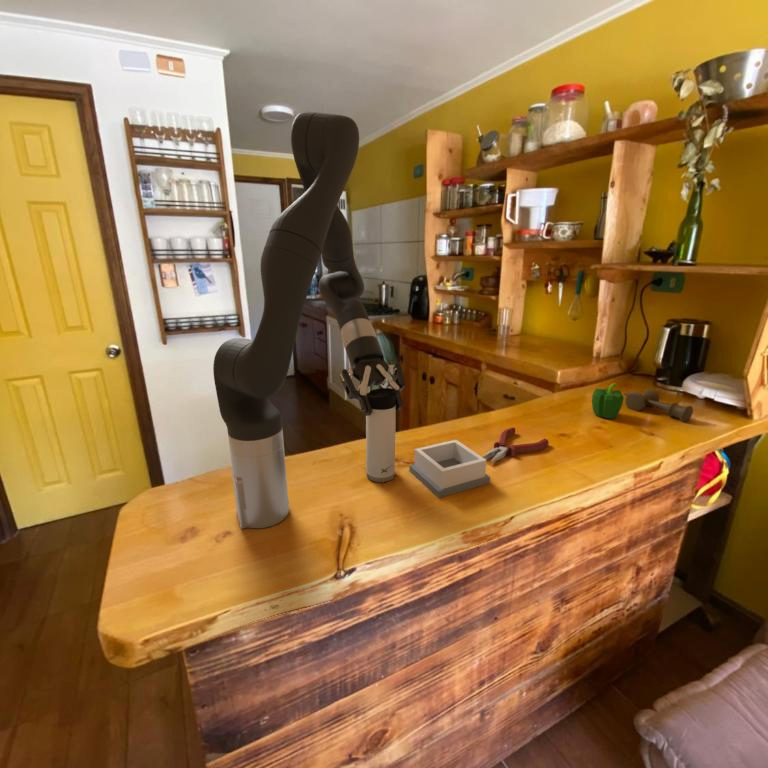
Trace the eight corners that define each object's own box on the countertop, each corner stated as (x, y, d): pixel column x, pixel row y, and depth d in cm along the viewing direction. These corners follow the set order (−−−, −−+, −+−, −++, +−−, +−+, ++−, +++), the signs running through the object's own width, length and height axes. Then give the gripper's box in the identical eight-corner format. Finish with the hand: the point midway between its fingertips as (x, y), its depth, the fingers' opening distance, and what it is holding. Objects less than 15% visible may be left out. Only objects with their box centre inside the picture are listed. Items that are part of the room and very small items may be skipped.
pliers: (465, 456, 101) (465, 446, 100) (510, 433, 114) (511, 424, 113) (506, 474, 93) (507, 464, 92) (550, 447, 106) (551, 438, 105)
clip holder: (438, 498, 83) (439, 473, 82) (409, 471, 94) (409, 449, 92) (489, 483, 89) (491, 460, 87) (456, 459, 99) (458, 438, 97)
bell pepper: (602, 422, 121) (608, 389, 118) (584, 412, 128) (589, 381, 125) (627, 420, 122) (633, 387, 119) (608, 410, 130) (613, 379, 127)
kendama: (678, 427, 119) (612, 403, 135) (695, 421, 123) (630, 399, 140) (683, 407, 117) (616, 386, 133) (701, 402, 121) (634, 382, 138)
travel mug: (391, 485, 88) (392, 396, 82) (362, 479, 90) (361, 392, 84) (399, 471, 94) (401, 387, 87) (372, 466, 96) (372, 383, 90)
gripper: (334, 337, 86) (357, 409, 79) (395, 331, 92) (421, 398, 85) (327, 356, 92) (347, 424, 86) (385, 350, 98) (408, 413, 92)
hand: (384, 411), depth 85 cm, fingers closed on travel mug, 6 cm apart
